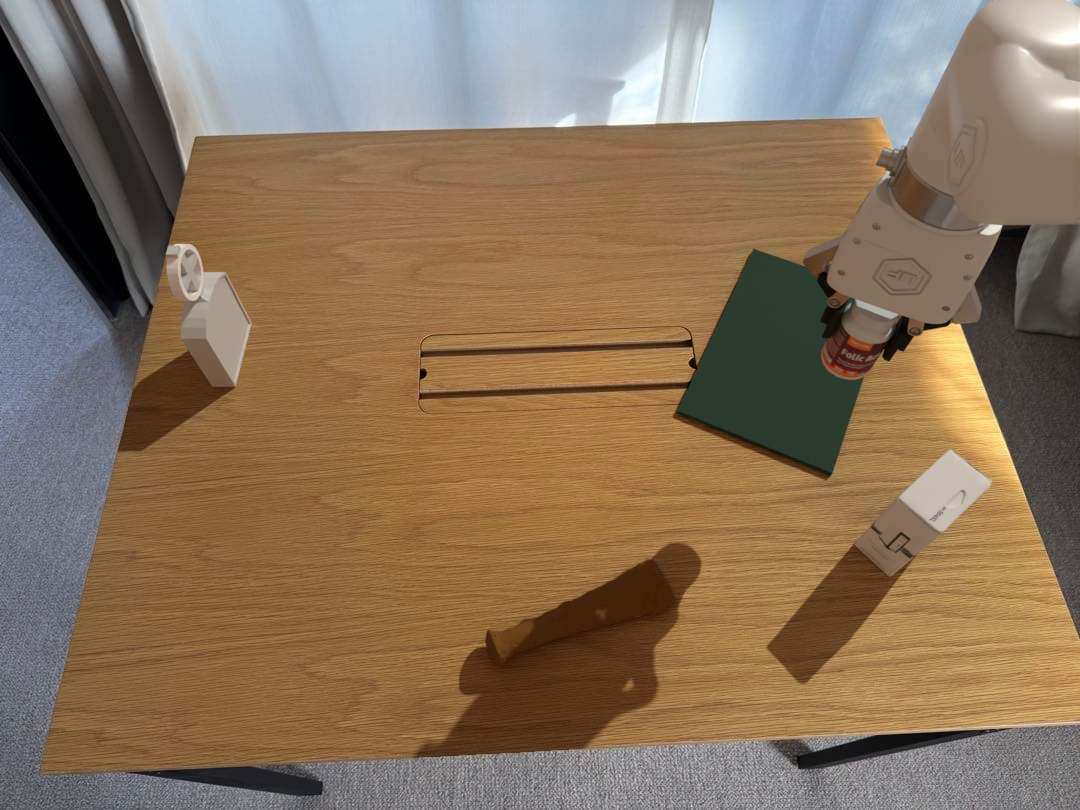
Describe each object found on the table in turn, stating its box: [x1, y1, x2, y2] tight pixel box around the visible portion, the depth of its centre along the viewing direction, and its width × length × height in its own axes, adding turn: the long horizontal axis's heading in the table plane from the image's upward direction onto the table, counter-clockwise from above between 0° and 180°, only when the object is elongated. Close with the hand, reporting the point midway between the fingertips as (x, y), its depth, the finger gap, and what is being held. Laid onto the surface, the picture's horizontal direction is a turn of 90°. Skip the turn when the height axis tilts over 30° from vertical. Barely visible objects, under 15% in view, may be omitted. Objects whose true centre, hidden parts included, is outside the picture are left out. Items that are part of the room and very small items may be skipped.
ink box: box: [853, 449, 993, 577], centre depth 75 cm, size 9×5×12 cm, turn 130°
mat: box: [676, 248, 865, 476], centre depth 93 cm, size 18×28×1 cm, turn 154°
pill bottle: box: [821, 299, 901, 380], centre depth 69 cm, size 5×5×8 cm
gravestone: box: [165, 243, 253, 388], centre depth 85 cm, size 3×9×18 cm, turn 0°
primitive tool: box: [484, 558, 677, 668], centre depth 74 cm, size 19×6×4 cm, turn 115°
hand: (859, 336), depth 70 cm, fingers closed on pill bottle, 4 cm apart
